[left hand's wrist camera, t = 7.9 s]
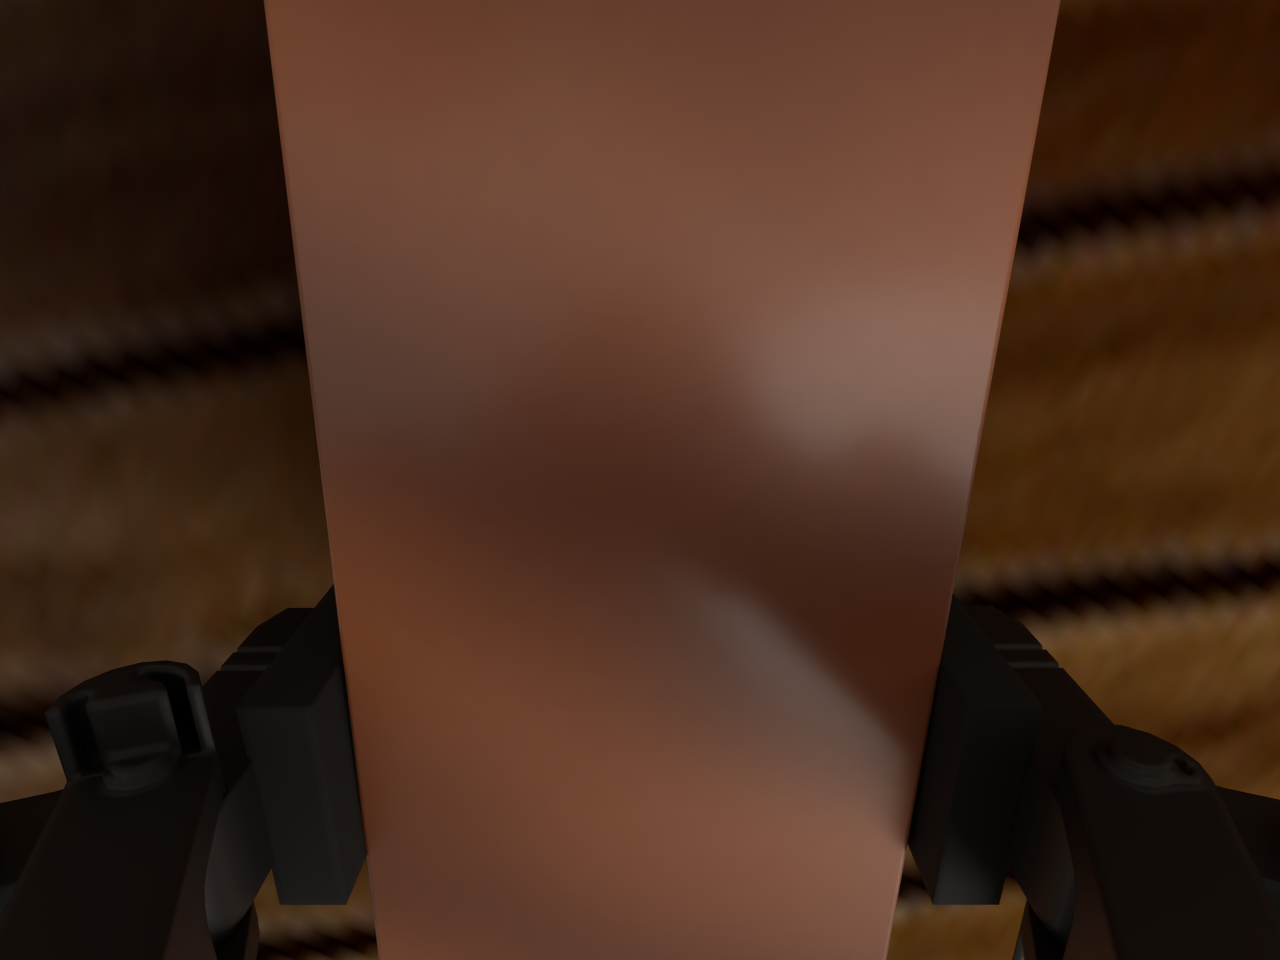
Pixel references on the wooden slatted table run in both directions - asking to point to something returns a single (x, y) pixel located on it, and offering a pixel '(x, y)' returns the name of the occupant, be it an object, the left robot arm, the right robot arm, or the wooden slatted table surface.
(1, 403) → the wooden slatted table surface
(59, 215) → the wooden slatted table surface
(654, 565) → the cabinet
